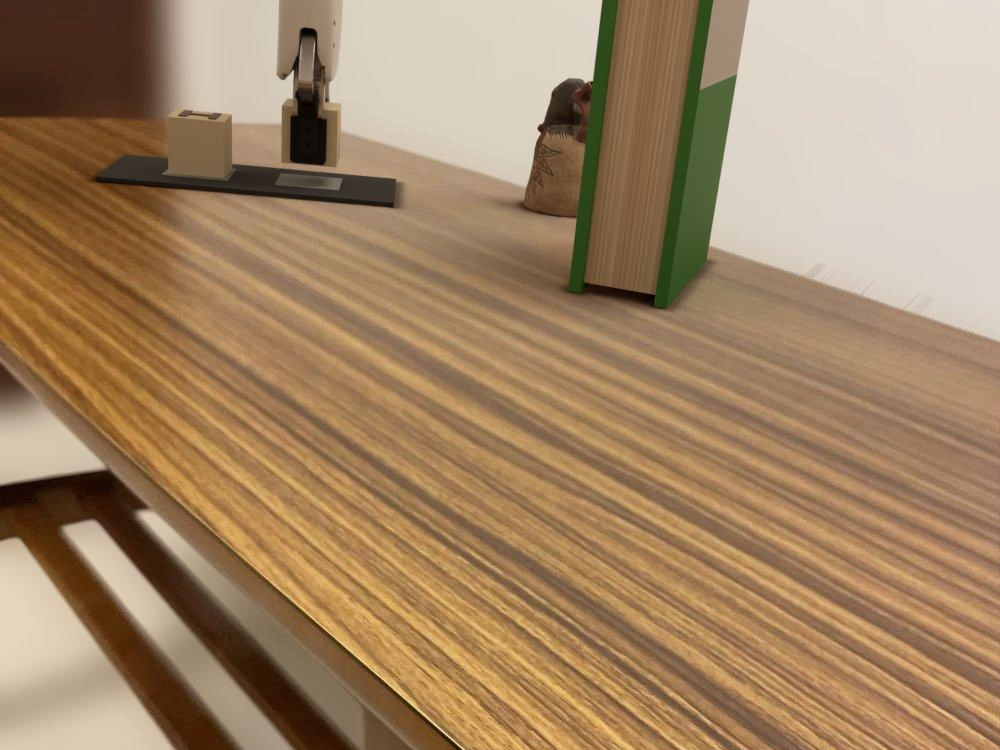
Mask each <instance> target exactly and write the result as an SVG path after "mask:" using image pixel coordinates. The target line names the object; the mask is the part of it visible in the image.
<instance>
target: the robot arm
mask: <svg viewBox="0 0 1000 750" xmlns="http://www.w3.org/2000/svg"><path fill="white" fill-rule="evenodd" d="M343 7H344V0H278V23H277V54H276V55H277V57H276V76H277V77H278V79H279V80H281V81H285V80H286V79H287V78H288V77H289V76H290V75H291V74H292V72H293V77H292V78H293V79H292V99H293V105H292V116H290V160H291V161H292V162H293V163H303V164H314V165H324V164H325V162H326V142H327V119H324V105H325V102H331V100H330V97H331V95H330V92H331V90H330V86H331V84H330V83H331V82H332V81H333V80H334V78H336V76H337V73H338V66H339V59H340V49H341V41H342V27H343V24H342V23H343ZM303 164H302V165H303ZM314 165H313V166H314Z"/></svg>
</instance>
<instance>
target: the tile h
mask: <svg viewBox="0 0 1000 750" xmlns="http://www.w3.org/2000/svg"><path fill="white" fill-rule="evenodd" d="M166 126H167V128H166V129H167V131H166V132H167V158H168V172H169V174H178V175H189V176H200V177H211V178H223V179H224V178H225V177H226V176H227V175H228V174H229V172H230V171H231V170H232V164H233V114H231V113H223V112H211V111H199V110H192V109H191V110H190V109H182V108H181V109H180V108H179V109H178V108H177V109H175V110H174V111H172V112H171V113H170V114H168V115H167V116H166Z"/></svg>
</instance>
